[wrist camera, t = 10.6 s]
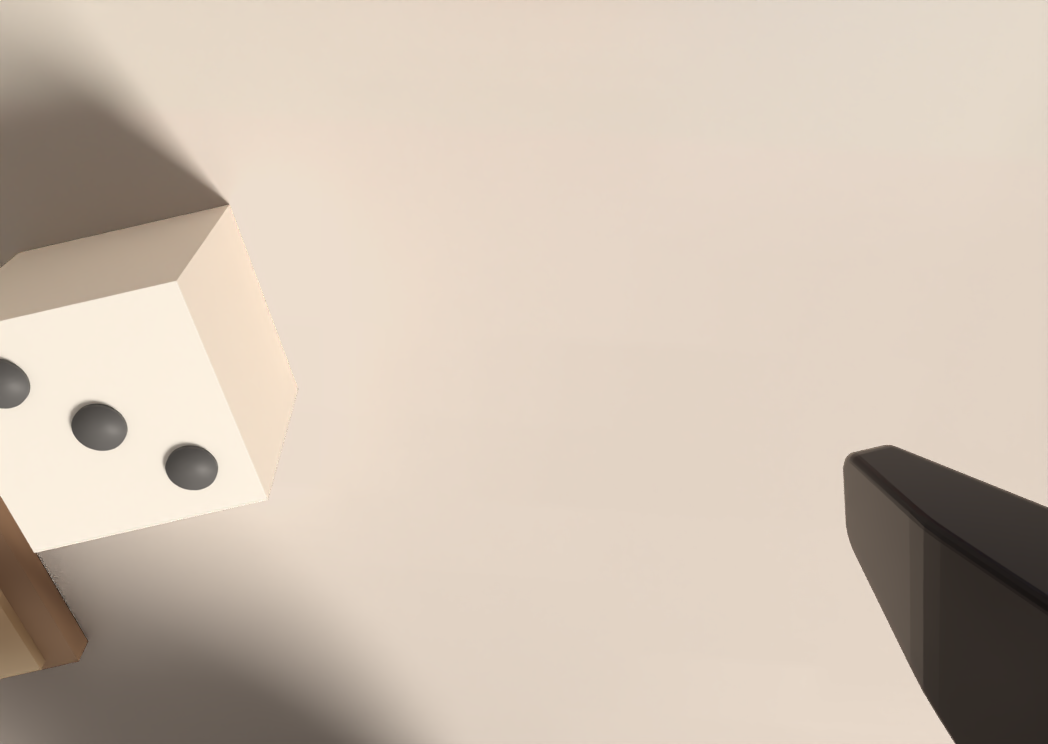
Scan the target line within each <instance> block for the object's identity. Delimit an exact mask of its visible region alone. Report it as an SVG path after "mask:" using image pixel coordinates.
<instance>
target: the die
mask: <svg viewBox="0 0 1048 744" xmlns="http://www.w3.org/2000/svg"><path fill="white" fill-rule="evenodd" d="M297 392H298V387H297V384H296V382H295V379H294V376H293V374H292V371H291V368H290V366H289V363H288V360H287V357H286V355H285V352H284V349H283V347H282V344H281V341H280V339H279V336H278V333H277V331H276V328H275V325H274V322H273V320H272V317H271V314H270V312H269V309H268V306H267V304H266V301H265V298H264V295H263V293H262V290H261V287H260V285H259V282H258V279H257V277H256V274H255V271H254V269H253V266H252V263H251V260H250V258H249V255H248V252H247V250H246V247H245V244H244V242H243V239H242V236H241V234H240V231H239V228H238V225H237V223H236V220H235V217H234V215H233V212H232V209H231V207H230V204H229V205H225V206H220V207H216V208H212V209H207V210H203V211H198V212H194V213H190V214H185V215H181V216H177V217H172V218H168V219H164V220H159V221H155V222H150V223H146V224H142V225H137V226H133V227H129V228H124V229H120V230H116V231H111V232H107V233H102V234H98V235H94V236H89V237H85V238H81V239H76V240H72V241H68V242H63V243H59V244H54V245H50V246H46V247H41V248H37V249H33V250H28V251H24V252H20V253H18V254H17V255H16V256H14V257H13V258H12V259H11V260H10V261H8V262H7V263H6V264H5V265H3V266H2V267H1V268H0V496H1V498H2V499H3V501H4V503H5V504H6V506H7V508H8V509H9V511H10V513H11V514H12V516H13V518H14V520H15V521H16V523H17V525H18V526H19V528H20V530H21V531H22V533H23V535H24V536H25V538H26V540H27V542H28V543H29V545H30V547H31V548H32V550H33V552H34V553H37V552H41V551H46V550H50V549H54V548H59V547H63V546H68V545H72V544H76V543H81V542H85V541H90V540H94V539H98V538H103V537H107V536H112V535H116V534H120V533H125V532H129V531H134V530H138V529H142V528H147V527H151V526H156V525H160V524H164V523H169V522H173V521H178V520H182V519H186V518H191V517H195V516H199V515H204V514H208V513H213V512H217V511H221V510H226V509H230V508H235V507H239V506H243V505H248V504H252V503H257V502H261V501H265V500H268V498H269V495H270V491H271V487H272V484H273V480H274V476H275V473H276V469H277V465H278V462H279V458H280V454H281V451H282V447H283V443H284V440H285V436H286V432H287V429H288V425H289V421H290V418H291V414H292V410H293V407H294V403H295V399H296V396H297Z"/></svg>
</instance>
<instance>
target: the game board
mask: <svg viewBox="0 0 1048 744" xmlns="http://www.w3.org/2000/svg"><path fill="white" fill-rule="evenodd" d="M87 643H88V641H87V639H86V637H85V636H84V634H83V632H82V631H81V629H80V627H79V625H78V624H77V622H76V620H75V619H74V617H73V615H72V614H71V612H70V610H69V608H68V607H67V605H66V603H65V602H64V600H63V598H62V597H61V595H60V593H59V592H58V590H57V588H56V586H55V585H54V583H53V581H52V580H51V578H50V576H49V575H48V573H47V571H46V569H45V568H44V566H43V564H42V563H41V561H40V559H39V558H38V556H37V554H36V553H34V552H33V550H32V548H31V547H30V545H29V543H28V542H27V540H26V538H25V536H24V535H23V533H22V531H21V530H20V528H19V526H18V525H17V523H16V521H15V520H14V518H13V516H12V514H11V513H10V511H9V509H8V508H7V506H6V504H5V503H4V501H3V499H2V498H1V496H0V679H3V678H7V677H12V676H16V675H21V674H25V673H30V672H34V671H38V670H43V669H47V668H52V667H56V666H61V665H65V664H69V663H74V662H78V661H79V660H80V657H81V655H82V653H83V651H84V649H85V647H86V645H87Z"/></svg>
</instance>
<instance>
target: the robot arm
mask: <svg viewBox="0 0 1048 744" xmlns="http://www.w3.org/2000/svg"><path fill="white" fill-rule="evenodd" d="M843 475H844V495H845V515H846V528H847V533H848V537H849V541H850V543H851V546H852V549H853V551H854V553H855V555H856V557H857V559H858V561H859V563H860V565H861V567H862V569H863V571H864V574H865V576H866V578H867V580H868V582H869V584H870V586H871V588H872V590H873V592H874V594H875V596H876V598H877V600H878V602H879V604H880V606H881V608H882V610H883V612H884V614H885V616H886V618H887V620H888V622H889V625H890V627H891V629H892V631H893V633H894V635H895V637H896V639H897V641H898V643H899V645H900V647H901V649H902V651H903V653H904V655H905V657H906V659H907V661H908V663H909V665H910V667H911V669H912V671H913V673H914V675H915V677H916V679H917V681H918V683H919V685H920V687H921V689H922V691H923V692H924V694H925V696H926V697H927V699H928V701H929V702H930V704H931V706H932V707H933V709H934V711H935V712H936V714H937V716H938V717H939V719H940V721H941V722H942V724H943V725H944V727H945V728H946V730H947V732H948V733H949V735H950V736H951V738H952V739H953V741H954V742H955V744H1048V507H1046V506H1043V505H1041V504H1038V503H1036V502H1033V501H1031V500H1028V499H1026V498H1023V497H1021V496H1018V495H1016V494H1013V493H1011V492H1008V491H1006V490H1003V489H1001V488H998V487H996V486H993V485H991V484H988V483H986V482H983V481H981V480H978V479H976V478H973V477H971V476H968V475H966V474H963V473H961V472H958V471H956V470H953V469H951V468H948V467H946V466H943V465H941V464H938V463H936V462H933V461H931V460H928V459H926V458H923V457H921V456H918V455H916V454H913V453H911V452H908V451H906V450H903V449H901V448H898V447H895V446H892V445H883V446H878V447H874V448H870V449H866V450H861V451H857V452H853V453H850V454H849V455H848V456H847V457H846V459H845V462H844V466H843Z"/></svg>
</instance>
